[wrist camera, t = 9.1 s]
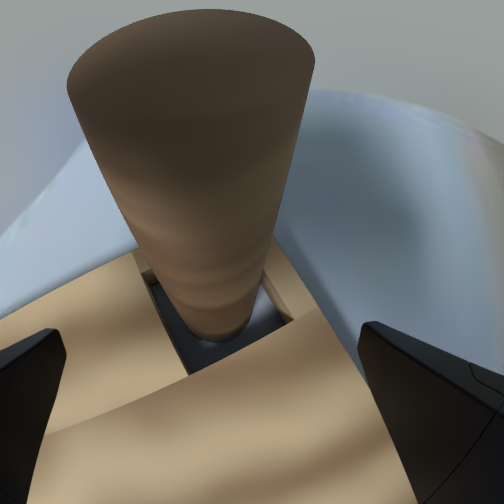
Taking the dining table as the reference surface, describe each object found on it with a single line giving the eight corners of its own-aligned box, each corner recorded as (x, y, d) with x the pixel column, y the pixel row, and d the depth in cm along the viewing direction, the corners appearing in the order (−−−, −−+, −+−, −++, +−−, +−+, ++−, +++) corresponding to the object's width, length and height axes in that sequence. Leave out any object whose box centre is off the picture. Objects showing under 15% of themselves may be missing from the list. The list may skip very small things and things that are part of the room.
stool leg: (265, 304, 18) (356, 53, 4) (219, 357, 16) (173, 177, 3) (213, 263, 19) (196, -1, 5) (167, 310, 17) (35, 76, 4)
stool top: (416, 492, 13) (433, 499, 11) (124, 611, 7) (117, 624, 5) (246, 216, 20) (248, 198, 18) (-21, 348, 14) (-38, 342, 13)
